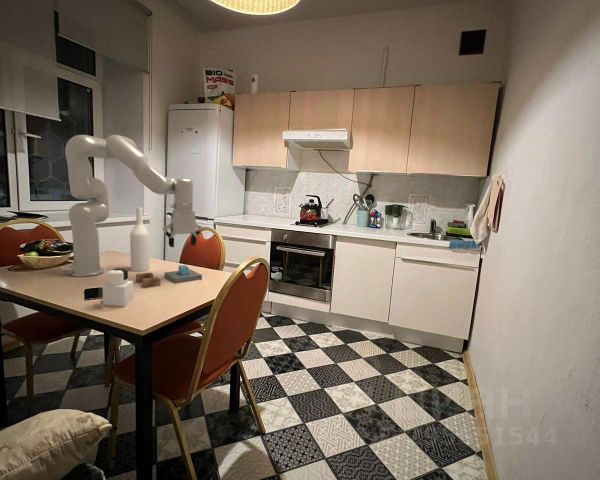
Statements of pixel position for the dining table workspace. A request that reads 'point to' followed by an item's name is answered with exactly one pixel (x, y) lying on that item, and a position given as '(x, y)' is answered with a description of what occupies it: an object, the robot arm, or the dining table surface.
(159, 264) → the dining table surface
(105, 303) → the medicine bottle
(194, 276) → the port block
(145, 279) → the brown notched block
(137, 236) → the bottle
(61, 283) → the dining table surface
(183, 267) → the plug
